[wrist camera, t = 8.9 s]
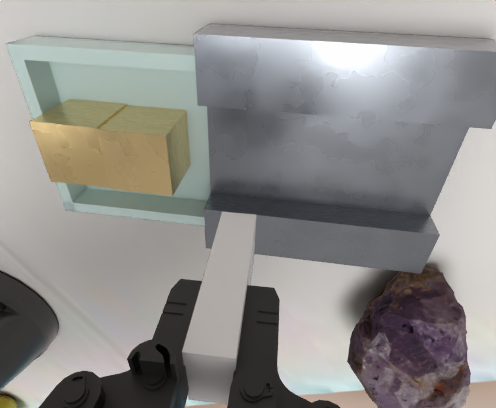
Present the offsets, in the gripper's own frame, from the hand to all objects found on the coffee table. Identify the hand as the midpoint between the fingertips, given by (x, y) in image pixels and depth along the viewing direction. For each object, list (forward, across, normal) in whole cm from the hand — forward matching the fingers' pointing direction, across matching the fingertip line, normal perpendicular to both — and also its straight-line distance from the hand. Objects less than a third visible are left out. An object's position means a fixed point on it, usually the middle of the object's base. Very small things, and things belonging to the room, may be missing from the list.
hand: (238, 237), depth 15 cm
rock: (+10, +14, -15) cm, 22 cm away
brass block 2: (+9, -7, 0) cm, 11 cm away
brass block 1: (+9, -11, 0) cm, 14 cm away
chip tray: (+10, -8, 0) cm, 13 cm away
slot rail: (+9, +4, 0) cm, 10 cm away
